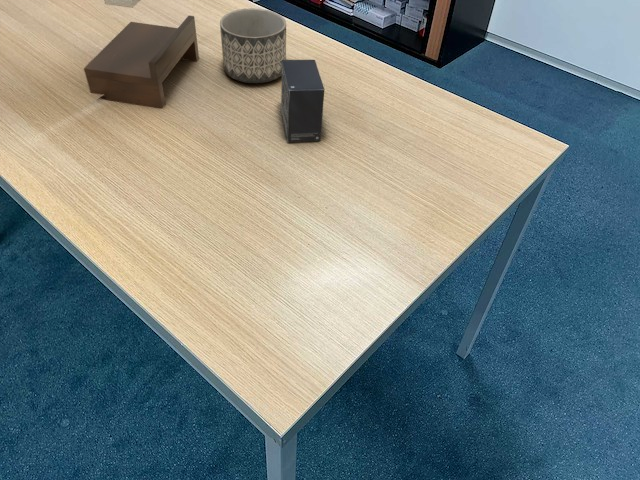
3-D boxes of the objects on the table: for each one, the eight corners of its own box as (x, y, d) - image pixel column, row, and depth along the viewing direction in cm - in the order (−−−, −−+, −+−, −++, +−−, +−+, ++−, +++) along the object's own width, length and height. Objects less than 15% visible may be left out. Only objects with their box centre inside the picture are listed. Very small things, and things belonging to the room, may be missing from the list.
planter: (211, 74, 110) (206, 24, 103) (250, 51, 118) (248, 2, 111) (260, 95, 106) (258, 44, 99) (297, 69, 114) (299, 20, 106)
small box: (323, 142, 96) (326, 89, 89) (286, 144, 95) (287, 90, 88) (313, 109, 104) (316, 57, 96) (279, 110, 103) (279, 58, 95)
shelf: (91, 97, 102) (79, 52, 96) (136, 49, 116) (127, 6, 110) (162, 108, 101) (154, 63, 95) (199, 58, 115) (194, 15, 108)
